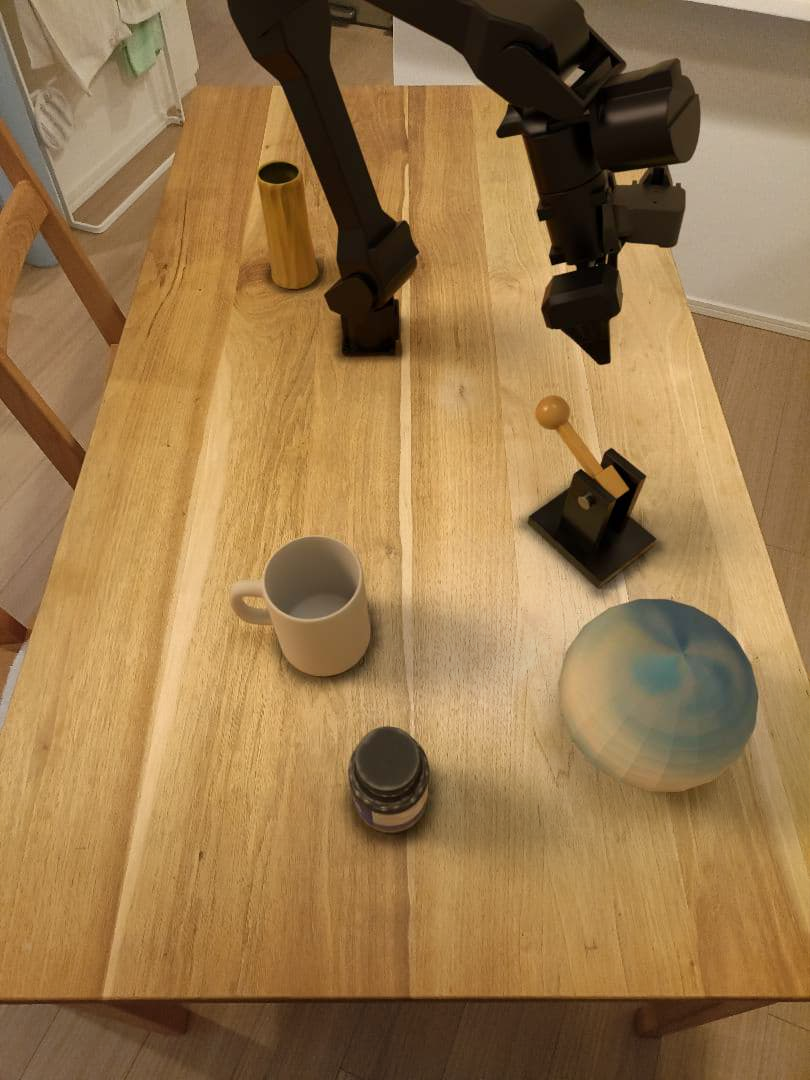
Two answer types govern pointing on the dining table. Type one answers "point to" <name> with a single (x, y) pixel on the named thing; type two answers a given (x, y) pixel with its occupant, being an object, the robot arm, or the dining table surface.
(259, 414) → the dining table surface
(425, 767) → the pill bottle
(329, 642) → the mug
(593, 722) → the decorative ball
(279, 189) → the vase
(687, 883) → the dining table surface
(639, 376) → the dining table surface
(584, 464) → the ball knob lever
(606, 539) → the lever base
